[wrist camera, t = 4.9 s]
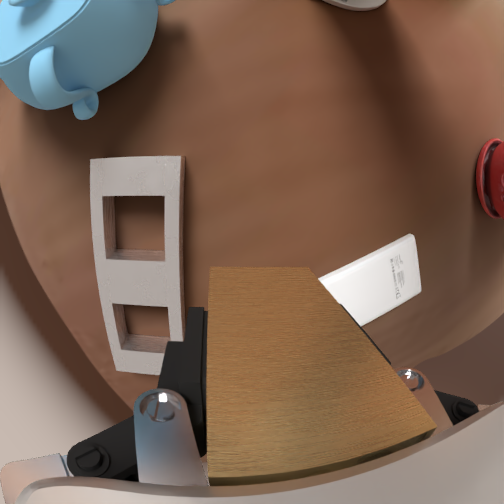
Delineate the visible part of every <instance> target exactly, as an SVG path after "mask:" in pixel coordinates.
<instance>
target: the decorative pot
mask: <svg viewBox="0 0 504 504" xmlns="http://www.w3.org/2000/svg"><path fill="white" fill-rule="evenodd" d="M174 1H175V0H2V2H1V4H0V78H1V79H2V80H3V81H4V83H5V84H6V85H7V87H8V88H9V89H10V91H11V92H12V93H13V94H14V95H15V96H17V97H18V98H19V99H20V100H22V101H23V102H25V103H27V104H29V105H31V106H33V107H35V108H38V109H43V110H53V109H57V108H61V107H64V106H67V105H70V104H72V103H73V112H74V115H75V117H76V118H77V119H79V120H87V119H90V118H91V117H93V116H94V115H95V114H96V112H97V110H98V104H99V100H98V95H97V92H99V91H101V90H103V89H104V88H106V87H108V86H110V85H111V84H113V83H115V82H116V81H118V80H120V79H121V78H123V77H124V76H126V75H127V74H128V73H130V72H131V71H132V70H133V69H134V68H135V67H136V66H137V65H138V64H139V63H140V62H141V61H142V59H143V58H144V57H145V55H146V54H147V52H148V50H149V48H150V46H151V43H152V40H153V37H154V34H155V29H156V24H157V18H158V5H167V4H170V3H172V2H174Z"/></svg>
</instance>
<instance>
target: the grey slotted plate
mask: <svg viewBox="0 0 504 504" xmlns="http://www.w3.org/2000/svg"><path fill="white" fill-rule="evenodd" d="M184 176H185V157H184V156H141V157H117V158H100V159H90V203H91V223H92V237H93V248H94V258H95V266H96V274H97V281H98V287H99V294H100V300H101V305H102V311H103V316H104V321H105V326H106V330H107V335H108V339H109V343H110V347H111V351H112V355H113V359H114V363H115V366H116V370H117V371H124V372H133V373H142V374H152V375H160V372H161V368H162V363H163V358H164V354H165V349H166V345H167V342H168V341H184V337H185V330H186V325H185V305H184V273H183V208H184ZM114 196H165V250H133V249H117V245H116V230H115V202H114ZM123 304H129V305H144V306H161V307H168V315H169V326H170V337H161V336H147V335H135V334H128V332H127V326H126V320H125V314H124V308H123Z"/></svg>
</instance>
